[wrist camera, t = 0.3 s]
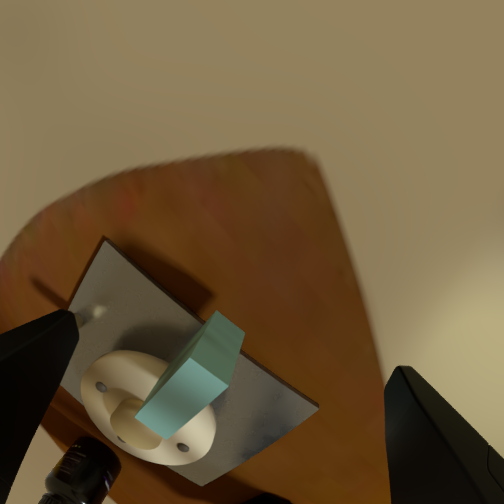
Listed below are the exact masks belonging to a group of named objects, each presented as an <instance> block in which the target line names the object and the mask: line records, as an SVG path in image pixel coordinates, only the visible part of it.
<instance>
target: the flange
mask: <svg viewBox="0 0 504 504" xmlns="http://www.w3.org/2000/svg"><path fill="white" fill-rule="evenodd" d="M244 335H245V332H243V331H242V330H241V329H240V328H238V327H237V326H236V325H234V324H233V323H232V322H231V321H229V320H228V319H227V318H226V317H224V316H223V315H222V314H221V313H219V312H218V311H217V310H216V311H215V313H214V314H213V315H212V316H211V317H210V318H209V319H208V321H207V322H206V323H205V324H204V325H203V326H202V327H201V329H200V330H199V331H198V332H197V333H196V334H195V335H194V337H193V338H192V339H191V340H190V341H189V342H188V343H187V345H186V346H185V347H184V348H183V349H182V350H181V351H180V352H179V354H178V355H177V356H176V357H175V358H174V359H173V360H172V362H171V363H170V364H169V363H168V362H166V361H164V360H162V359H159V358H157V357H155V356H152V355H149V354H146V353H142V352H138V351H130V350H118V351H112V352H109V353H106V354H104V355H102V356H100V357H99V358H98V359H96V360H95V361H94V362H93V363H92V364H91V365H90V366H89V367H88V368H87V370H86V371H85V372H84V375H83V377H82V380H81V397H82V400H83V404H84V406H85V409H86V411H87V413H88V415H89V416H90V418H91V420H92V421H93V422H94V424H95V425H96V426H97V428H98V429H99V430H100V431H101V432H102V433H103V434H104V435H105V436H106V437H107V438H108V439H109V440H110V441H112V442H113V443H114V444H115V445H117V446H118V447H120V448H121V449H123V450H125V451H126V452H128V453H130V454H132V455H134V456H136V457H138V458H141V459H143V460H146V461H149V462H153V463H157V464H163V465H184V464H189V463H192V462H195V461H197V460H199V459H200V458H202V457H203V456H204V455H206V453H207V452H208V451H209V449H210V447H211V445H212V443H213V439H214V436H215V433H216V425H217V422H216V416H215V412H214V409H213V407H212V405H211V402H212V401H213V400H214V399H215V398H216V397H217V396H218V395H220V394H221V393H222V392H223V391H224V390H225V389H226V388H227V387H228V386H229V384H230V381H231V378H232V374H233V371H234V368H235V365H236V361H237V358H238V355H239V352H240V348H241V345H242V342H243V338H244Z"/></svg>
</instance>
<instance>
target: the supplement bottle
mask: <svg viewBox="0 0 504 504" xmlns="http://www.w3.org/2000/svg"><path fill="white" fill-rule="evenodd" d="M120 471H121V463H120V461H119V459H118V457H117V456H116V455H115V453H114V452H113V451H112V450H111V449H109V448H108V447H107V446H105V445H104V444H102V443H101V442H99V441H97V440H95V439H92V438H88V437H81V438H78V439H77V440H76V441H75V442H74V443H73V444H72V446H71V447H70V448H69V449H68V450H67V452H66V453H65V454H64V455H63V457H62V458H61V459H60V460H59V462H58V463H57V464H56V466H55V467H54V468H53V469H52V471H51V472H50V473H49V474H48V476H47V477H46V479H45V487H46V489H47V491H48V493H45V494H44V495H43V496H42V499H41V500H40V501H39V503H38V504H102V502H103V501H104V499H105V497H106V495H107V494H108V492H109V490H110V489H111V487H112V485H113V484H114V482H115V480H116V478H117V477H118V475H119V473H120Z"/></svg>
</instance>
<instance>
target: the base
mask: <svg viewBox="0 0 504 504" xmlns="http://www.w3.org/2000/svg"><path fill="white" fill-rule="evenodd" d="M68 311H71V312H73V313H74V315H75V318H76V322H77V326H78V330H79V342H78V344H77V346H76V349H75V351H74V353H73V355H72V358H71V360H70V362H69V365H68V367H67V370H66V372H65V374H64V377H63V379H62V381H61V383H60V385H61V386H62V387H63V388H64V389H66V390H67V391H68V392H69V393H70V394H71V395H72V396H73V397H74V398H76V399H77V400H78V401H79V402H80V403H81V404H82V405H84V404H83V400H82V397H81V380H82V377H83V375H84V372H85V371H86V370H87V368H88V367H89V366H90V365H91V364H92V363H93V362H94V361H95V360H96V359H98V358H99V357H100V356H102V355H104V354H106V353H109V352H112V351H118V350H130V351H138V352H142V353H146V354H149V355H152V356H155V357H157V358H159V359H162V360H164V361H166V362H168V363H169V364H170V363H171V362H172V360H173V359H174V358H175V357H176V356H177V355H178V354H179V352H180V351H181V350H182V349H183V348H184V347H185V346H186V345H187V343H188V342H189V341H190V340H191V339H192V338H193V337H194V335H195V334H196V333H197V332H198V331H199V330H200V329H201V327H202V326H203V325H204V324H205V323H206V322H205V321H203V320H202V319H201V318H200V317H198V316H197V315H196V314H195V313H194V312H192V311H191V310H190V309H189V308H187V307H186V306H185V305H184V304H183V303H181V302H180V301H179V300H178V299H176V298H175V297H174V296H173V295H172V294H170V293H169V292H168V291H167V290H166V289H165V288H163V287H162V286H161V285H160V284H159V283H158V282H156V281H155V280H154V279H153V278H152V277H151V276H149V275H148V274H147V273H146V272H145V271H144V270H143V269H141V268H140V267H139V266H138V265H137V264H136V263H135V262H134V261H132V260H131V259H130V258H129V257H128V256H127V255H126V254H125V253H124V252H122V251H121V250H120V249H119V248H118V247H117V246H116V245H115V244H114V243H113V242H112V241H111V240H109V239H107V240H105V241H104V243H103V245H102V246H101V248H100V250H99V252H98V253H97V255H96V257H95V259H94V261H93V262H92V264H91V266H90V268H89V270H88V272H87V274H86V275H85V277H84V279H83V281H82V283H81V285H80V287H79V289H78V291H77V293H76V295H75V297H74V299H73V301H72V303H71V305H70V307H69V309H68ZM211 405H212V407H213V409H214V412H215V416H216V422H217V425H216V433H215V436H214V439H213V443H212V445H211V447H210V449H209V451H208V452H207V453H206V455H204V456H203V457H202V458H200V459H199V460H197V461H195V462H192V463H189V464H184V465H165V466H167V467H168V468H170V469H172V470H173V471H175V472H177V473H178V474H180V475H182V476H184V477H185V478H187V479H189V480H191V481H192V482H194V483H196V484H198V485H200V486H201V487H202V486H204V485H205V484H207V483H209V482H211V481H213V480H214V479H216V478H218V477H220V476H221V475H223V474H225V473H227V472H228V471H230V470H232V469H233V468H235V467H237V466H238V465H240V464H241V463H243V462H245V461H246V460H248V459H249V458H251V457H253V456H254V455H256V454H257V453H259V452H260V451H262V450H263V449H265V448H266V447H268V446H269V445H271V444H272V443H274V442H275V441H277V440H278V439H279V438H281V437H282V436H284V435H285V434H287V433H288V432H289V431H291V430H292V429H294V428H295V427H296V426H298V425H299V424H300V423H302V422H303V421H304V420H306V419H307V418H308V417H310V416H311V415H312V414H313V413H315V412H316V411H317V410H319V404H317V403H316V402H314V401H313V400H311V399H310V398H308V397H307V396H305V395H304V394H302V393H301V392H299V391H298V390H296V389H295V388H294V387H292V386H291V385H289V384H288V383H286V382H285V381H284V380H282V379H281V378H279V377H278V376H276V375H275V374H274V373H272V372H271V371H269V370H268V369H267V368H265V367H264V366H263V365H261V364H260V363H258V362H257V361H256V360H254V359H253V358H252V357H250V356H249V355H248V354H246V353H245V352H244V351H242V350H241V349H240V352H239V355H238V358H237V361H236V365H235V368H234V371H233V374H232V378H231V381H230V384H229V386H228V387H227V388H226V389H225V390H224V391H223V392H222V393H221V394H220V395H218V396H217V397H216V398H215V399H214V400H213V401H212V402H211Z"/></svg>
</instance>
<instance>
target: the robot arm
mask: <svg viewBox="0 0 504 504" xmlns="http://www.w3.org/2000/svg"><path fill="white" fill-rule="evenodd" d="M78 342H79V330H78V326H77V322H76V318H75V315H74V313H73V312H71V311H68V310H65V309H59V310H57V311H54V312H52V313H50V314H47V315H45V316H42V317H40V318H38V319H35V320H33V321H31V322H28V323H26V324H23V325H21V326H19V327H16V328H14V329H12V330H9V331H7V332H5V333H2V334H0V504H5V503H6V500H7V498H8V495H9V493H10V490H11V487H12V485H13V482H14V480H15V477H16V475H17V473H18V470H19V468H20V465H21V463H22V461H23V459H24V456H25V454H26V452H27V450H28V448H29V445H30V443H31V441H32V438H33V436H34V435H35V433H36V430H37V428H38V426H39V424H40V422H41V420H42V418H43V416H44V414H45V412H46V410H47V408H48V406H49V404H50V402H51V401H52V399H53V397H54V395H55V393H56V391H57V389H58V387H59V385H60V383H61V381H62V379H63V377H64V374H65V372H66V370H67V367H68V365H69V362H70V360H71V358H72V355H73V353H74V351H75V349H76V346H77V344H78ZM384 405H385V441H386V451H387V460H388V469H389V480H390V492H391V504H504V459H503V458H502V457H501V456H500V455H499V454H498V453H497V452H496V451H495V449H493V447H492V446H491V445H488V442H487V441H486V440H485V439H484V438H483V437H482V436H481V435H480V434H479V433H478V432H477V431H476V430H475V429H474V428H473V427H472V426H471V425H470V424H469V423H468V422H467V421H466V420H465V419H464V418H463V417H462V416H461V415H460V414H459V413H458V412H457V411H456V410H455V409H454V408H453V407H452V406H451V405H450V404H449V403H448V402H447V401H446V400H445V399H444V398H443V397H442V396H441V395H440V394H439V393H438V392H437V391H436V390H435V389H434V388H433V387H432V386H431V385H430V384H429V383H428V382H427V381H426V380H425V379H424V378H422V376H421V375H420V374H419V373H418V372H416V370H414V369H413V368H412V367H411V366H397V367H396V368H395V369H394V371H393V373H392V375H391V377H390V378H389V380H388V382H387V384H386V386H385V390H384ZM243 504H290V503H288V502H285V501H283V500H281V499H278V498H276V497H274V496H271V495H269V494H261V495H259V496H257V497H255V498H253V499H251V500H249V501H247V502H245V503H243Z"/></svg>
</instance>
